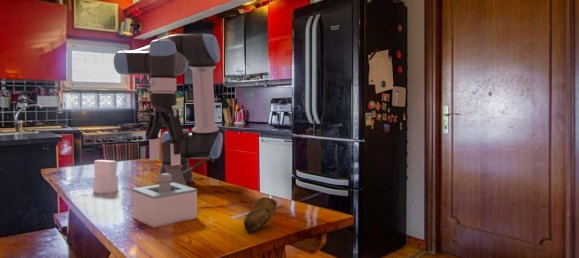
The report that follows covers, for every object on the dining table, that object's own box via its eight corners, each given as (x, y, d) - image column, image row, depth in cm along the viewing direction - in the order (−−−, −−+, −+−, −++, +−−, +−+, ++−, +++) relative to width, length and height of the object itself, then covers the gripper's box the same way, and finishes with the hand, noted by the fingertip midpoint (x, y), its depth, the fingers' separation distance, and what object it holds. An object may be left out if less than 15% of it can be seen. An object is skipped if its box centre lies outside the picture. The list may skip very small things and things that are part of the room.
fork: (220, 219, 121) (220, 214, 121) (277, 205, 138) (277, 200, 138) (227, 222, 118) (227, 216, 118) (284, 207, 136) (284, 202, 136)
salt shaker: (167, 219, 118) (167, 176, 117) (150, 217, 119) (150, 174, 118) (177, 213, 123) (178, 172, 122) (161, 212, 125) (161, 171, 124)
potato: (232, 229, 111) (232, 201, 110) (266, 219, 120) (266, 194, 119) (251, 236, 105) (251, 206, 104) (285, 226, 114) (285, 198, 114)
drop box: (174, 209, 131) (174, 182, 130) (197, 218, 121) (196, 189, 120) (132, 217, 121) (132, 188, 120) (153, 227, 111) (153, 196, 111)
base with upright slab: (88, 191, 155) (87, 161, 154) (106, 187, 164) (105, 158, 163) (105, 193, 152) (104, 163, 151) (123, 189, 160) (122, 160, 159)
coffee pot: (163, 207, 133) (163, 163, 132) (152, 200, 142) (152, 159, 142) (220, 198, 146) (220, 158, 145) (207, 192, 155) (206, 155, 154)
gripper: (133, 92, 125) (135, 158, 126) (172, 92, 107) (173, 169, 109) (155, 93, 130) (157, 156, 132) (196, 92, 112) (197, 166, 114)
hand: (164, 162), depth 120 cm, fingers open, 13 cm apart
